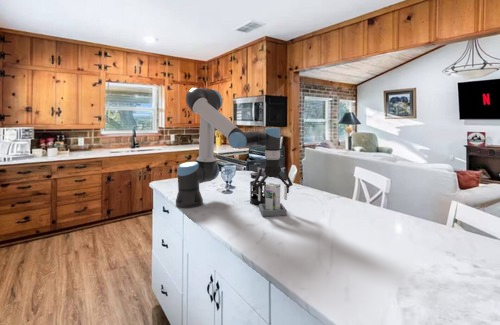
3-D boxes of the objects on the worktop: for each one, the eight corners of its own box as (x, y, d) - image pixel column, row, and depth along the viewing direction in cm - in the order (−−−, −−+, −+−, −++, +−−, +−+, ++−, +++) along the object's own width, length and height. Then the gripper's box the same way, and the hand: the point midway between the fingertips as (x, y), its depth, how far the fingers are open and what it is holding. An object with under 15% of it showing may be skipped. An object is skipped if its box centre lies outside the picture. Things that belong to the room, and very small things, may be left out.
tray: (262, 216, 140) (262, 211, 140) (259, 209, 152) (259, 203, 152) (286, 215, 142) (286, 210, 141) (281, 208, 153) (281, 203, 153)
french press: (269, 204, 161) (269, 163, 158) (254, 206, 158) (254, 165, 155) (261, 198, 172) (260, 161, 169) (246, 200, 169) (246, 162, 165)
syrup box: (264, 211, 146) (264, 184, 144) (271, 209, 151) (271, 182, 149) (274, 214, 143) (274, 185, 141) (280, 211, 147) (280, 183, 145)
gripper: (248, 160, 138) (248, 202, 141) (299, 159, 140) (298, 200, 144) (247, 158, 145) (247, 198, 148) (295, 157, 148) (294, 196, 151)
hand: (272, 199), depth 146 cm, fingers open, 13 cm apart
